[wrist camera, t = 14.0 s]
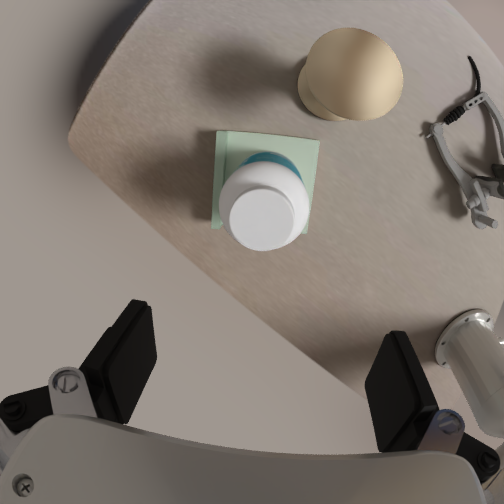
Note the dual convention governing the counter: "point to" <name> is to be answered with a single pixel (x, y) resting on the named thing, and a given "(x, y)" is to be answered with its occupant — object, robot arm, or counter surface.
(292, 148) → the board
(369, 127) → the counter surface
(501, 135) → the bike brake
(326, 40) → the bobbin
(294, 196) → the pill bottle
